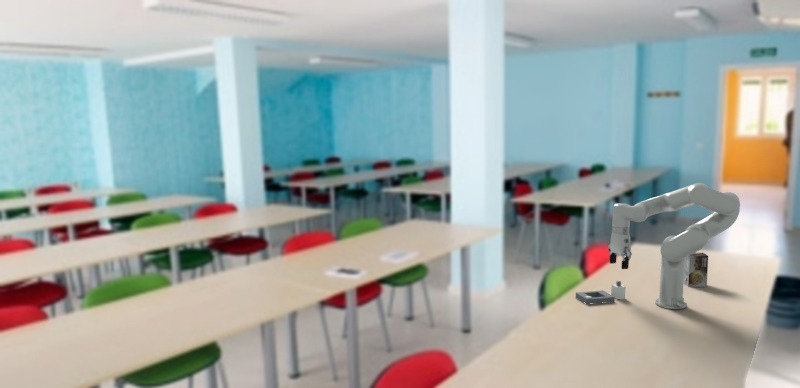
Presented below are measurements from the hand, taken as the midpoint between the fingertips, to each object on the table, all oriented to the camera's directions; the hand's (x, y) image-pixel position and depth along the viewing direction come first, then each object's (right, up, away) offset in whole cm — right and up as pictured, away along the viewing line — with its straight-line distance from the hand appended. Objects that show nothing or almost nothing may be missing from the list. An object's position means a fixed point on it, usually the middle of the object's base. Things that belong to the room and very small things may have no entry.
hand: (618, 266), depth 265 cm
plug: (0, -15, +2) cm, 15 cm away
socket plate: (-11, -16, 0) cm, 19 cm away
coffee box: (+46, -12, +20) cm, 51 cm away
